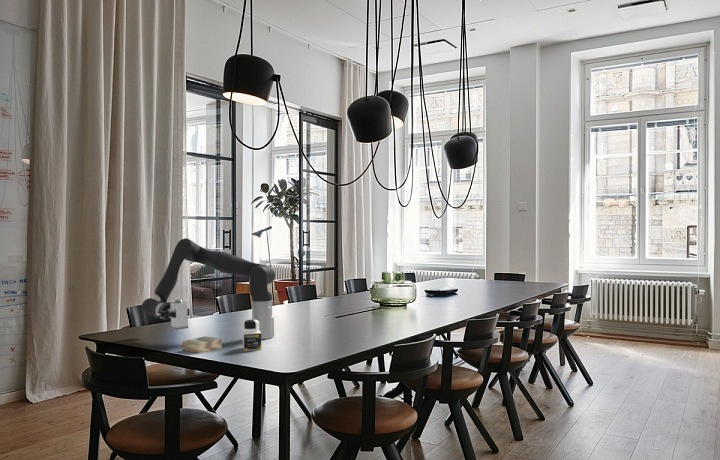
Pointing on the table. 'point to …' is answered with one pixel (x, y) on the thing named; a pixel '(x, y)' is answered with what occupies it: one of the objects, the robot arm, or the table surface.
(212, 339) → the stand
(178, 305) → the housing
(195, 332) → the table surface
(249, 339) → the medicine bottle
